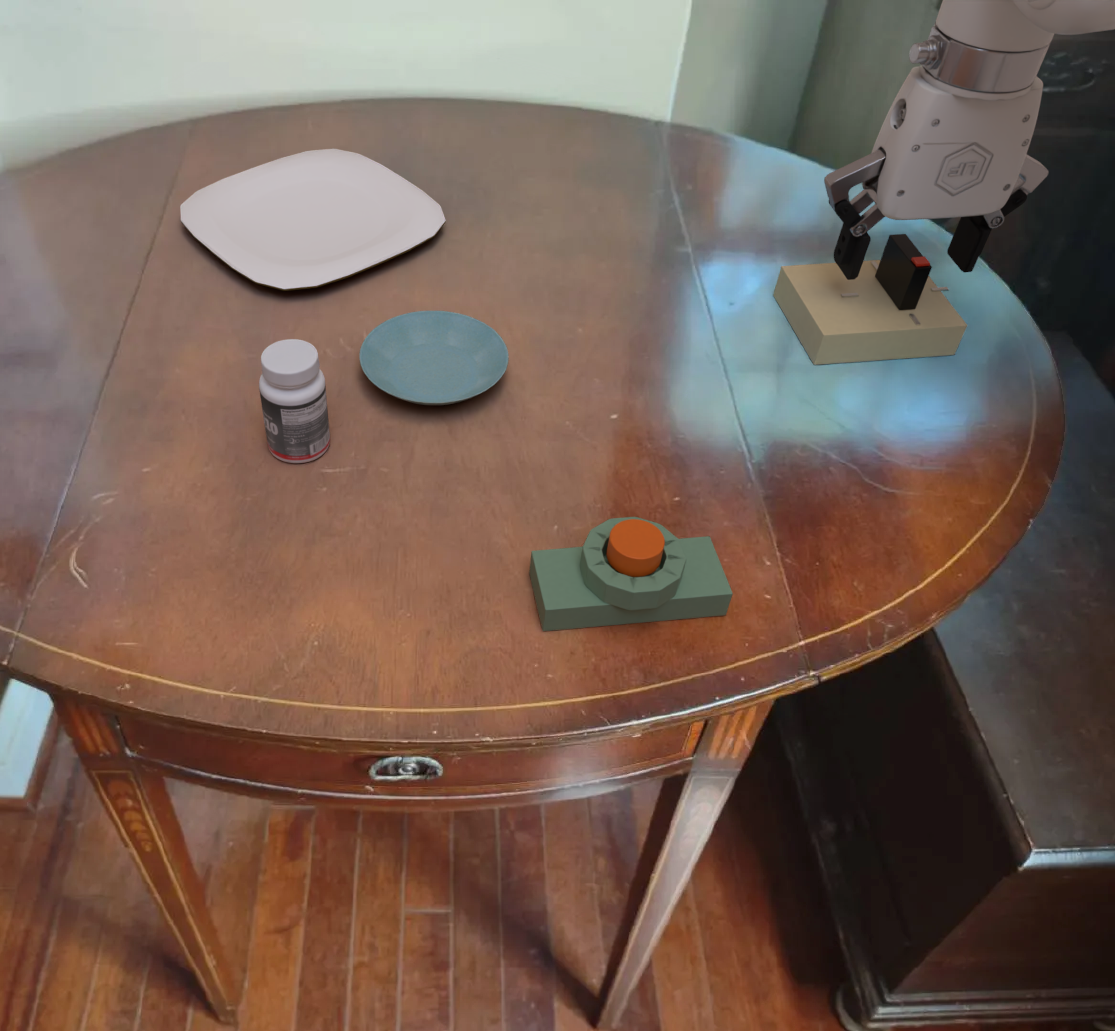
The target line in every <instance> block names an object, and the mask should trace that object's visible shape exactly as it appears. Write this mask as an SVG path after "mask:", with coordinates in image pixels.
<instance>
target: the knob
mask: <svg viewBox="0 0 1115 1031" xmlns="http://www.w3.org/2000/svg"><path fill="white" fill-rule="evenodd" d="M879 260H880V263H879V266H878V269H877V271H876V274H875V277H876V279H877V280H878V281H879V283H880V284H881V286H882V287H883V288H884V290H885V291H886V292H887V294H888V295H889V297H890V298H891V299H892V301H893V302H894V304H895V305H896V306H897V308H898V309H899V310H909V309H916V306H917V304H918V301H919V299H920V296H921V294H922V291H923V289H924V286H925V284H926V281H927V279H928V276H929V277H930V273H931V272H932V268H933V266H932V265H931V262H930V261H929V260H928V258H927V257H926V256H924V255H923V254H922V252H921V251H920V250H919V249H918V248H917V247H916V245H915V244H914V243H913V241H912V240H911V238H909V236H908V235H907V233H897V234H896V233H895V234H889V235H888V237H887V241H886V243H885V247H884V249H883V252H882V255H881V257H880V259H879Z"/></svg>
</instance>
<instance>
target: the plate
mask: <svg viewBox="0 0 1115 1031" xmlns="http://www.w3.org/2000/svg"><path fill="white" fill-rule="evenodd" d="M179 206H180V207H179V208H180V209H179V210H180V222H181V224H182V225H183V226H184V227H185V228H186V230H187V231H188V232H189V234H191V236H192V237H193V238H194V239H195V240H196V241H197V242H199V243H200V244H201V245H202V246H204V247H205V248H206V249H207V250H208V251H209V252H210V253H212V254H213V255H214V256H215V257H216V258H218V259H219V261H222V262H223V263H224V264H225V265H226V266H228V267H229V268H230V269H231V270H233V271H235V272H236V273H238V274H240V275H241V276H242V277H244V278H246V279H248V280H249V281H251V282H253V283H254V284H256V285H260V286H264V287H268V288H272V289H276V290H279V291H283V292H286V291H287V292H288V291H296V290H306V289H317V288H320V287H323V286H326V285H329V284H332V283H335V282H338V281H341V280H344V279H348V278H350V277H352V276H355V275H358V274H360V273H362V272H365V271H367V270H369V269H372V268H374V267H377V266H379V265H381V264H383V263H385V262H388V261H390V260H392V259H395V258H397V257H399V256H401V255H403V254H406V253H408V252H410V251H411V250H414V249H415V248H417V247H419V246H421V245H423V244H424V243H426V242H428V241H429V240H431V239H433V238H434V237H435V236H436V235H437V234H438V233H439V232H440V230H441V229H442V228H443V226H444V225H445V224H446V221H447V220H446V217H445V214H444V212H443V208H442V206H441V205H440V204H439V203H438V202H437V201H436V200H435V199H433V198H432V197H431V196H430V195H429V194H427V193H426V192H425V191H424V190H423V189H421V188H419V187H418V186H416V185H415V184H413V183H412V182H410V181H409V180H407V179H406V178H404V177H403V176H401V175H400V174H398V173H396V172H395V171H393V170H392V169H389V168H388V167H386V166H385V165H383V164H382V163H379V162H377V161H375V160H373V159H371V158H370V157H367V156H365V155H363V154H360V153H357V152H353V151H348V150H343V149H338V148H326V149H325V148H324V149H314V150H305V151H302V152H298V153H295V154H291V155H287V156H284V157H279V158H277V159H274V160H271V161H269V162H268V161H267V162H265V163H262V164H259V165H257V166H254V167H251V168H248V169H246V170H243V171H241V172H237V173H235V174H232V175H229V176H227V177H223V178H222V179H219V180H217V181H215V182H213V183H211V184H209V185H207V186H204V187H202V188H200V189H198V190H196V191H195V192H194V193H192V194H191V195H190V196H189V197H188V198H186V200H184V201H183V203H181V204H180V205H179Z"/></svg>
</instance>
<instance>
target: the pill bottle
mask: <svg viewBox="0 0 1115 1031" xmlns="http://www.w3.org/2000/svg"><path fill="white" fill-rule="evenodd" d="M260 355H261V356H260V364H261V365H260V366H261V374H260V378H259V381H258V382H259V383H258V390H259V397H260V398H259V399H260V402H261V403H260V404H261V410H262V411H261V412H262V416H263V418H262V419H263V424H264V429H265V438H266V444H267V447H268V450H269V452H270V453H271V455H272V456H273V457H275V458H276V459H277V460H279V461H282V462H285V463H289V464H303V463H304V464H305V463H309V462H312V461H315V460H317V459H318V458H320V457H321V456H323V455H324V454H325V453H326V452H327V450H328V449H329V447H330V444H331V432H330V422H329V412H328V398H327V386H326V385H327V384H326V378H325V375H324V373H323V371H322V369H321V364H320V358H319V353H318V350H317V348H316V347H315V346H314V345H313V344H312V343H310V342H309V341H307V340H303V339H297V338H286V339H281V340H277V341H275V342H273V343H271V344H269V345H268V346H267V347H265V348H264V349H263V351H262V353H261V354H260Z"/></svg>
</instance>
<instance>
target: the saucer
mask: <svg viewBox="0 0 1115 1031" xmlns="http://www.w3.org/2000/svg"><path fill="white" fill-rule="evenodd" d="M358 356H359V365H360V367H361V369H362V371H363V373H364V375H365V376H366V378H368V380H369V381H370V382H371V383H372V384H373V385H374V386H376V387H377V388H378V389H380V390H381V391H383V392H384V393H386V394H388V395H390V396H393V397H394V398H396V399H400V400H402V401H405V402H409V403H413V404H417V405H424V406H444V405H445V406H446V405H451V404H457V403H461V402H464V401H467V400H469V399H470V400H471V399H473V398H474V397H477V396H479V395H481V394H483V393H484V392H486V391H488V390H489V389H491V388H492V387H493V386H495V384H497V383H498V382H499V381H500V379H502V377H503V376H504V374H505V373H506V372H507V369H508V366H509V361H510V360H509V359H510V357H509V349H508V347H507V344H506V343H505V341H504V339H503V338H502V336H501V335H500V334H499V333H498V332H497V331H496V330H495V329H494V328H493V327H492V326H490V325H488V324H487V323H485V322H483V321H482V320H479V319H477V318H475V317H472V316H471V315H470V316H469V315H467V314H463V313H458V312H454V311H447V310H418V311H411V312H406V313H403V314H399V315H397V316H393V317H391V318H389V319H387V320H385V321H382V322H381V323H380V324H378V325H376V327H374V328H373V329H372V330H371V331H370V332H369V333H368V334H367V335H366V337H365V338H364V339H363V342H362V344H361V346H360V348H359V355H358Z"/></svg>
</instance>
